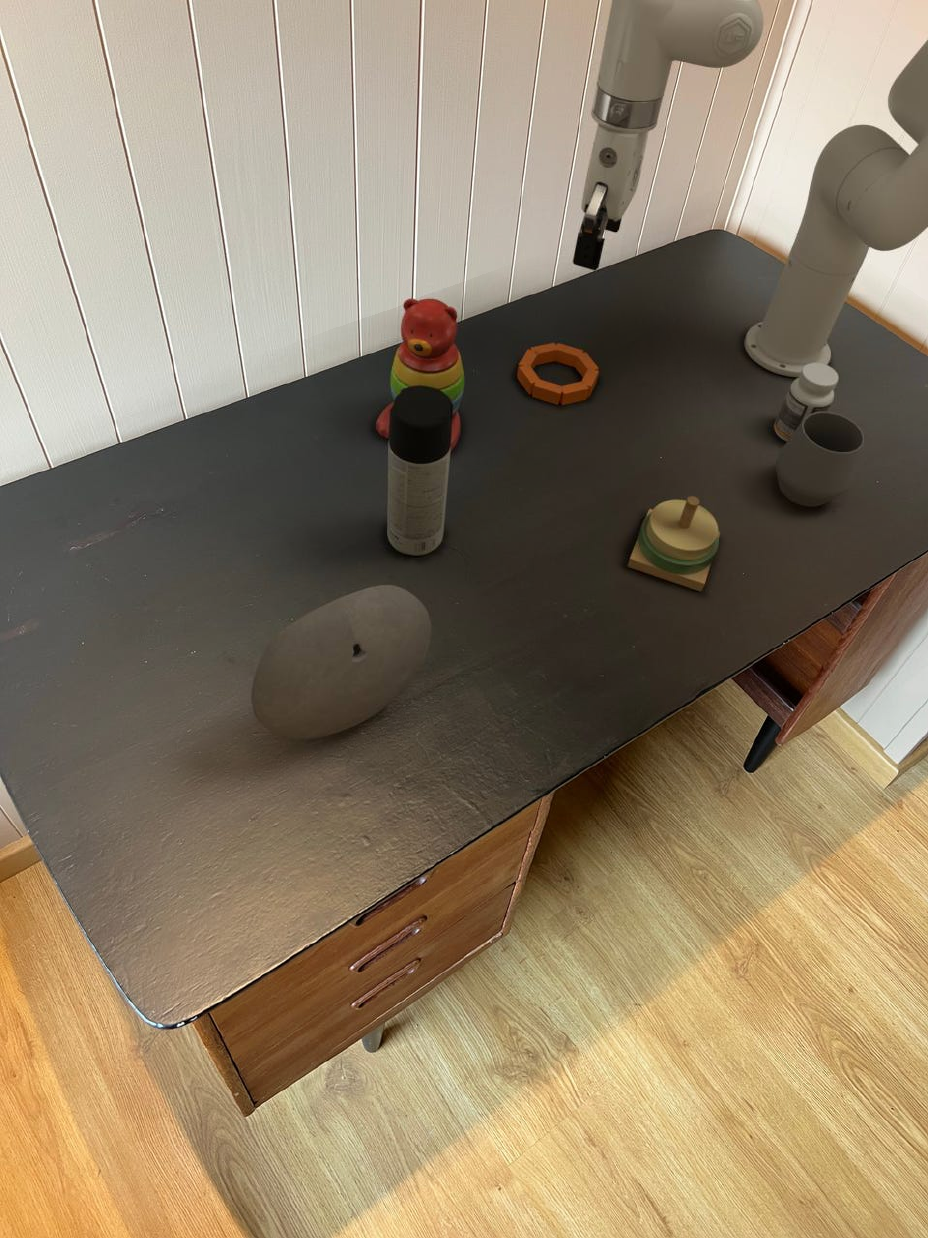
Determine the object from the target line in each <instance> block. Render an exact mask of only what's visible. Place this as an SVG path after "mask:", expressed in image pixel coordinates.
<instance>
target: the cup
mask: <svg viewBox="0 0 928 1238" xmlns="http://www.w3.org/2000/svg"><path fill="white" fill-rule="evenodd" d="M865 439H866V438H865V436H864V432H863V430H862V428H860V426H859V425H858V424H857V423H856V422H854V421H853V420H852V419H850V418H849V417H848V416H847V417H846V416H844V415H842V414H839V413H837V412H832V411H828V412H815V413H812V414H809V415H808V416H807V417H806V418H805V419H804V420H803V421H802V422H801V424H800V425H799V426H798V428H797V429H796V430H795V432H794V433H793V434H792V436H791V437H790V438H789V440H788V441H787V442H786V443H785V444H784V445H783V446H782V448H781V449H780V451H778V455H777V459H776V462H775V470H776V475H777V481H778V486H779V490H780V492H782V494H783V495H784V496H785V497H786V498H787V499H788V500H789V501H791V502H793V503H794V504H797V505H799V506H803V507H808V508H809V507H810V508H811V507H819V506H821V505H824V504H827V503H828V502H830V501H832V500H834V499H836V498H838V497H839V496H841V495H842V494H843V493H844V492H845V491H847V489H848V488H850V486H851V484H852V482H853V479H854V476H855V473H856V469H857V466H858V463H859V460H860V457H861V454H862V451H863V447H864V444H865Z"/></svg>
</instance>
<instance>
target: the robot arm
mask: <svg viewBox="0 0 928 1238" xmlns="http://www.w3.org/2000/svg"><path fill="white" fill-rule="evenodd" d="M762 9H763V8H762V6H761V4H760V2H759V0H611V4H610V9H609V16H608V21H607V26H606V32H605V38H604V42H603V48H602V54H601V59H600V65H599V68H598V75H597V79H596V85H595V91H594V94H593V99H592V105H591V111H590V112H591V113H590V114H591V118H592V119H593V120H594V122H596V124H597V127H596V132H595V136H594V139H593V142H592V148H591V154H590V157H589V162H588V166H587V172H586V177H585V182H584V187H583V192H582V198H581V207H580V209H581V211H582V212H583V213H584V215H583V218H582V221H581V224H580V228H579V231H578V233H577V238H576V243H575V249H574V253H573V258H572V264H573V265H575V266H578V267H581V268H584V269H588V270H592V271H597V270H598V269H599V267H600V263H601V259H602V254H603V249H604V245H605V241H606V238H604V234H605V232H606V231H607V232H611V233H616V234H617V233H618V232H619V230H620V228H621V223H622V219H623V217H624V215H625V213H626V211H627V209H628V208H629V206H630V204H631V202H632V200H633V198H634V197H635V195H636V193H637V189H638V187H639V181H640V177H641V171H642V166H643V161H644V157H645V152H646V148H647V142H648V137H649V133H650V131H653V130H654V129H655V128H656V127H657V125H658V121H659V119H660V113H661V110H662V107H663V106H662V104H663V100H664V97H665V93H666V89H667V85H668V81H669V76H670V73H671V70H672V69H671V68H672V65H673V62H674V61H675V62H676V61H677V62H682V63H686V64H690V65H696V66H700V67H705V68H711V69H712V68H713V69H722V68H723V69H724V68H728V67H733V66H734V65H737V64H739V63H740V62H743V61H744V60H746V59H747V58H748V57H749V56H750V55H751V54H752V53H753V51H754V50H755V49H756V47H758V44H759V42H760V40H761V37H762V33H763V31H764V13H763V10H762ZM887 107H888V111H889V113H890V115H891V117H892V119H893V120H894V121H895V122H896V123H897V124H898V126H900V128H901V129H902V130H903V131H904V132H905V133H906V134H907V135H908V136H909V137H911V139H912V140H913V141H914V142H915V143H916V144H917V145H916V146H915V148H914V149H913V150H912V151H911V153H910V154H909V152H908V151H906V150H905V149H904V148H903V147H902V145H900V144H899V143H898V142H897V140H895V138H894V137H892V136H891V135H890V134H888V133H887V132H886V131H884V130H883V129H881V128H879V127H876V126H874V125H870V124H855V125H852V126H848V127H846V128H844V129H842V130H841V131H839V132H838V133H837V134H835V135H834V136H833V137H831V139H830V140H829V141H828V142H827V143H826V144H825V145H824V147H823V149H822V150H821V152H820V154H819V156H818V157H817V160H816V163H815V166H814V169H813V172H812V176H811V181H810V186H809V191H808V197H807V201H806V205H805V209H804V212H803V216H802V218H801V222H800V225H799V227H798V230H797V232H796V236H795V239H794V241H793V243H792V246H791V248H790V251H789V253H788V256H787V259H786V261H785V263H784V266H783V269H782V272H781V274H780V277H779V279H778V281H777V283H776V286H775V289H774V292H773V295H772V297H771V300H770V302H769V305H768V307H767V309H766V312H765V315H764V317H763V321H761V322H757V323H756V324H754V325H752V326H751V327H750V328H749V329H748V330H747V332H746V335H745V338H744V348H745V351H746V352H747V354H748V356H749V357H750V358H751V360H752V361H754V362H755V363H756V364H758V365H759V366H760V367H762V368H764V369H765V370H767V371H769V372H772V373H775V374H777V375H781V376H785V377H790V378H799V375H800V373H801V371H802V369H803V367H804V366H805V365H807V364H810V363H821V364H825V365H827V366H829V364H830V361H831V358H832V351H831V348H830V346H829V344H828V339H829V337H830V335H831V333H832V330H833V329H834V326H835V324H836V322H837V320H838V317H839V316H840V313H841V312H842V309H843V307H844V305H845V302H846V300H847V298H848V296H849V294H850V292H851V289H852V287H853V285H854V283H855V281H856V279H857V276H858V275H859V272H860V270H861V268H862V266H863V264H864V263H865V260H866V258H867V255H868V253H869V250H870V248H871V249H873V250H876V251H879V252H889V251H895V250H897V249H899V248H902V247H904V246H906V245H907V244H909V243H911V242H912V241H914V240H915V239H916V238H918V237H919V236H920V235H921V234H923V232H924V231H926V229H928V39H927V40H926V41H925V42H924V44H923V45H922V46H921V47H920V48H919V49H918V51H917V52H916V53H915V55H913V56H912V58H911V59H910V60H909V62H908V63H907V64H906V65H905V66H904V67H903V69H902V70H901V71H900V73H899V74H898V76H897V77H896V79H895V80H894V82H893V83H892V86H891V87H890V90H889V93H888V95H887Z"/></svg>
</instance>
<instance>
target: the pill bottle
mask: <svg viewBox="0 0 928 1238" xmlns="http://www.w3.org/2000/svg"><path fill="white" fill-rule="evenodd" d="M838 382H839V374H838V371H836V370H835V369H834V368H833V367H832V366H829V365H825V364H821V363H810V364H807V365H805V366H804V367H803V369H802V371H801V373H800V375H799V377H796V378H795V379H794V380H793V382H792V383H790V386H789V388H788V391H787V393H786V396H785V397H784V400H783V402H782V405H781V407H780V409H779V411H778V414H777V416H776V419H775V421H774V424H773V428H774V431H775V433H776V435H777V436H778V438H780V439H781V440H783V441H784V442H786V443H787V441H788V440H789V438H790V437H791V436H792V434H793V433H794V432H795V430H796V429H797V428H798V426H799V425H800V424H801V422H802V421H803V420H804V419H805V418H806V417H807V416H808V415H809V414H812V413H815V412H829V410H830V407H831V406H832V404H833V402H834V399H835V391H834V390H835V388H836V386H837V384H838Z"/></svg>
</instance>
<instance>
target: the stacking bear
mask: <svg viewBox="0 0 928 1238" xmlns="http://www.w3.org/2000/svg"><path fill="white" fill-rule="evenodd" d="M403 310H404V314H403V315H402V319H401V324H400V336H401V339H402V342H401V344H400V345H399V347H398V348H397V350H396V352H395V355H394V359H393V363H392V366H391V371H390V380H389V381H390V383H389V384H390V392H391V397H392V400H393V401H392V402H390V404H388V405H387V406H386V407H385V409H383V410H382V412H381V413H380V414H379V416H378V417H377V419H376V422H375V429H376V431H377V433H378V435H380V436H381V437H384V438H385V439H387V440H389V421H390V420H389V418H390V409H391V408H392V407H393V404H394V400H395V398H396V396H397V395H399V394H400V392H401V390H402V389H404V388H407V387H411V386H417V385H423V386H429V387H433V388H436V389H439V390H441V391H442V392H444V393H445V394H446V395H447V396H448V397H449V398H450V399H451V401H452V403H453V417H452V435H451V452H452V451H453V450H454V448H455V447H456V445H457V444H458V442H459V439H460V436H461V431H462V430H461V427H462V425H461V423H462V422H461V417H460V414H459V408H460V405H461V402H462V399H463V396H464V391H465V383H466V381H465V371H464V367H463V361H462V356H461V354H460V351H459V348H458V347H457V345H456V344H455V340H456V337H457V332H458V322H457V319H458V311H457V310H456V308H454V307H452V306H448V304H446V303H445V302H443V301H442V300H440V299H437V298H423V299H420V300H417V299H415V298H412V297H411V298H407V299H406V300H405V301H404V302H403Z"/></svg>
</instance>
